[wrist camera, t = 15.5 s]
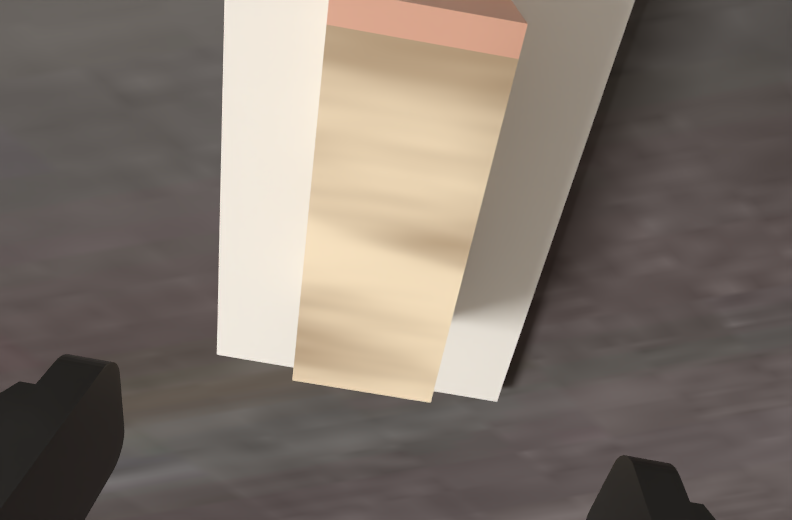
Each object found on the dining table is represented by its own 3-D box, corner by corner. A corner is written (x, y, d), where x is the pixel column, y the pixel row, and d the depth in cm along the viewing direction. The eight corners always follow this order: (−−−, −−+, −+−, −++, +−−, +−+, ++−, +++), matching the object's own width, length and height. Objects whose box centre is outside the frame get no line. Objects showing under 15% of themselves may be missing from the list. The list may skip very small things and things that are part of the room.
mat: (239, -243, 16) (230, -249, 16) (678, -155, 17) (688, -157, 16) (222, 342, 26) (216, 354, 26) (495, 388, 27) (496, 401, 26)
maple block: (316, 300, 24) (353, -33, 18) (432, 320, 24) (508, -5, 18) (292, 380, 20) (329, -12, 14) (430, 402, 20) (527, 23, 14)
